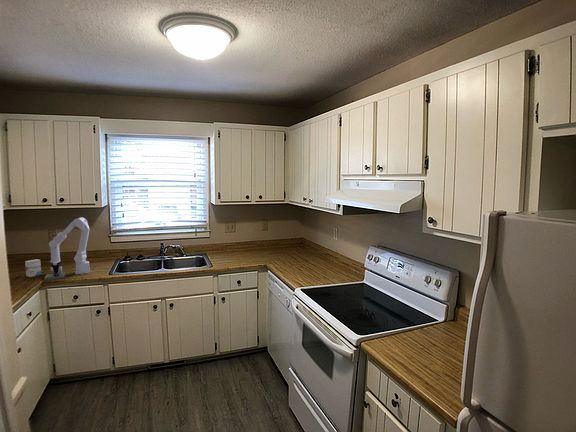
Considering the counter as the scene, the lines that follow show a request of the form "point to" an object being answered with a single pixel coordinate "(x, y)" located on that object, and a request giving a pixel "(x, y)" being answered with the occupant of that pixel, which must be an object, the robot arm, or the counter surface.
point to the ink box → (33, 267)
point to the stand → (54, 276)
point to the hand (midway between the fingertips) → (56, 271)
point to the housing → (58, 270)
